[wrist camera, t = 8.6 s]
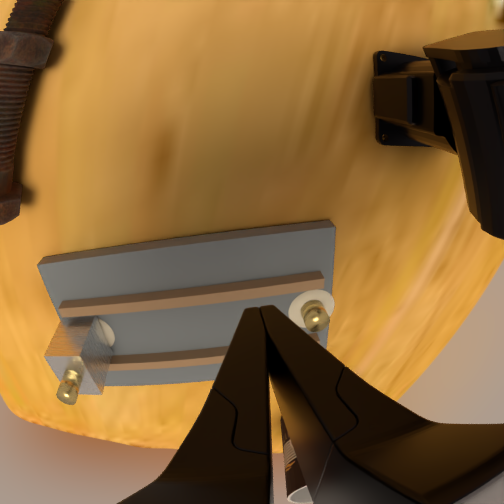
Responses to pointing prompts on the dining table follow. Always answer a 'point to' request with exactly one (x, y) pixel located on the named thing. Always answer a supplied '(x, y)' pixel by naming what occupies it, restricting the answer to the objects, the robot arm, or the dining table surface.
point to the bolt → (19, 85)
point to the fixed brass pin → (314, 316)
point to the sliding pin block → (79, 357)
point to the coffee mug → (293, 472)
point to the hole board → (191, 294)
